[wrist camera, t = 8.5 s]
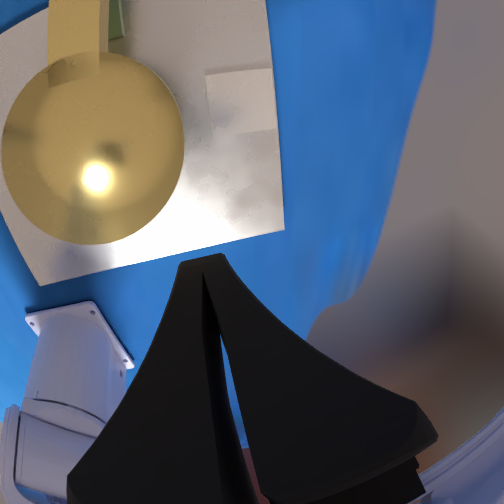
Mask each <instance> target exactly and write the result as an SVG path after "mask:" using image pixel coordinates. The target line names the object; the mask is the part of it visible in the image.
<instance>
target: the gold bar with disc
mask: <svg viewBox="0 0 504 504" xmlns="http://www.w3.org/2000/svg"><path fill="white" fill-rule="evenodd" d="M108 19H109V0H49V9H48V27H47V65H48V66H47V67H45V68H44V69H43V70H41V71H40V72H39V73H37V74H36V75H35V76H34V77H33V78H32V79H31V80H30V81H29V82H28V83H27V84H26V85H25V87H24V88H23V89H22V90H21V92H20V93H19V95H18V96H17V98H16V99H15V101H14V103H13V105H12V107H11V109H10V111H9V113H8V116H7V119H6V122H5V125H4V129H3V134H2V140H1V164H2V170H3V175H4V179H5V182H6V185H7V188H8V190H9V192H10V194H11V197H12V199H13V200H14V202H15V203H16V205H17V207H18V208H19V209H20V211H21V212H22V213H23V214H24V216H25V217H26V218H27V219H28V220H29V221H30V222H31V223H32V224H34V225H35V226H36V227H38V228H39V229H40V230H42V231H43V232H45V233H47V234H48V235H50V236H52V237H55V238H57V239H59V240H62V241H65V242H69V243H74V244H80V245H100V244H107V243H111V242H115V241H118V240H121V239H124V238H126V237H128V236H130V235H132V234H134V233H136V232H137V231H139V230H141V229H142V228H144V227H145V226H146V225H147V224H149V223H150V222H151V221H152V220H153V219H154V218H155V217H156V216H157V215H158V214H159V213H160V212H161V211H162V209H163V208H164V206H165V205H166V204H167V202H168V201H169V199H170V197H171V196H172V194H173V192H174V190H175V188H176V185H177V183H178V180H179V177H180V174H181V170H182V166H183V159H184V131H183V122H182V117H181V113H180V110H179V107H178V104H177V102H176V100H175V97H174V96H173V94H172V92H171V90H170V89H169V87H168V86H167V85H166V83H165V82H164V81H163V80H162V79H161V77H159V76H158V75H157V74H156V73H155V72H154V71H153V70H152V69H150V68H149V67H147V66H145V65H144V64H142V63H140V62H138V61H136V60H134V59H132V58H129V57H126V56H123V55H119V54H115V53H111V52H108Z"/></svg>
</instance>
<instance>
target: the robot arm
mask: <svg viewBox="0 0 504 504" xmlns="http://www.w3.org/2000/svg"><path fill="white" fill-rule="evenodd" d="M91 310H93V311H91ZM25 320H26V321H27V323H28V324H29V325H30V327H31V328H32V329H33V331H34V332H35V333H36V334H37V336H38V341H37V344H36V348H35V352H34V355H33V359H32V363H31V367H30V372H29V376H28V381H27V385H26V390H25V395H24V399H23V403H22V407H21V411H19V409H20V407H19V406H17V405H15V404H13V405H12V407H8V408H6V411H5V416H4V421H3V428H2V435H1V444H0V474H1V492H2V494H4V499H5V501H6V503H7V504H259V502H258V499H257V496H256V493H255V490H254V487H253V484H252V481H251V478H250V474H249V472H248V468H247V465H246V461H245V458H244V455H243V451H242V448H241V444H240V441H239V437H238V434H237V430H236V426H235V423H234V419H233V415H232V411H231V407H230V402H229V397H228V392H227V385H226V377H225V370H224V362H223V354H222V347H221V339H220V335H221V338H222V341H223V344H224V346H225V349H226V352H227V355H228V359H229V363H230V368H231V372H232V377H233V381H234V385H235V390H236V394H237V398H238V403H239V407H240V411H241V415H242V420H243V424H244V428H245V432H246V436H247V440H248V444H249V448H250V452H251V456H252V460H253V464H254V468H255V472H256V475H257V479H258V483H259V487H260V491H261V493H262V494H263V495H264V496H265V497H267V499H268V500H269V502H270V504H413V503H414V502H416V501H418V500H419V499H421V502H420V503H417V504H504V407H503V409H501V410H500V411H499V412H498V413H497V414H496V415H495V418H494V419H493V420H492V421H491V422H490V423H488V424H487V425H486V426H485V427H484V428H483V429H482V430H480V431H479V432H478V433H477V434H476V435H474V436H473V437H472V438H471V439H469V440H468V441H467V442H466V443H464V444H463V445H462V446H460V447H459V448H458V449H456V450H455V451H454V452H452V453H451V454H450V455H448V456H447V457H445V458H444V459H442V460H441V461H440V462H438V463H436V464H435V465H434V466H432V467H430V468H429V469H427V470H426V471H424V472H422V473H421V474H419V475H418V474H417V472H416V469H418V468H419V464H418V462H417V460H416V458H415V456H416V455H417V454H419V453H420V452H422V451H423V450H425V449H426V448H427V447H429V446H431V445H432V444H433V443H435V442H436V441H437V439H438V434H437V432H436V430H435V429H434V427H433V425H432V423H431V421H430V420H429V419H428V417H427V416H426V415H425V413H424V412H423V411H422V409H421V408H420V407H419V406H418V404H417V403H416V402H415V401H413V400H410V399H408V398H406V397H403V396H401V395H398V394H396V393H394V392H391V391H389V390H387V389H385V388H383V387H381V386H379V385H376V384H374V383H372V382H371V381H369V380H367V379H365V378H363V377H361V376H359V375H357V374H355V373H354V372H352V371H350V370H348V369H347V368H345V367H344V366H342V365H340V364H339V363H337V362H335V361H334V360H332V359H330V358H329V357H328V356H326V355H324V354H323V353H321V352H320V351H318V350H316V349H315V348H314V347H313V346H311V345H310V344H309V343H307V342H306V341H304V340H303V339H302V338H300V337H299V336H298V335H297V334H295V333H294V332H293V331H292V330H290V329H289V328H288V327H287V326H286V325H284V324H283V323H282V322H281V321H280V320H279V319H278V318H277V317H275V316H274V315H273V314H272V313H271V312H270V311H269V310H268V309H267V308H266V307H265V306H264V305H263V304H262V303H261V302H260V301H259V300H258V299H257V298H256V297H255V295H254V294H253V293H252V292H251V291H250V290H249V289H248V288H247V286H246V285H245V284H244V283H243V282H242V280H241V279H240V278H239V277H238V275H237V274H236V273H235V271H234V270H233V268H232V267H231V265H230V264H229V262H228V261H227V259H226V257H225V255H224V254H222V253H218V254H213V255H209V256H205V257H200V258H196V259H191V260H187V261H183V262H181V263H180V264H179V266H178V270H177V274H176V278H175V281H174V285H173V288H172V291H171V294H170V297H169V300H168V303H167V306H166V308H165V311H164V314H163V317H162V319H161V322H160V324H159V326H158V329H157V331H156V334H155V336H154V339H153V341H152V343H151V345H150V348H149V350H148V352H147V354H146V356H145V358H144V360H143V362H142V364H141V366H140V368H139V370H138V372H137V374H136V376H135V378H134V379H133V381H132V383H131V385H130V386H129V388H128V390H127V392H126V369H131V368H134V362H133V360H132V359H131V358H130V356H129V355H128V353H127V352H126V351H125V349H124V348H123V346H122V345H121V343H120V342H119V340H118V339H117V337H116V336H115V334H114V333H113V331H112V330H111V328H110V327H109V325H108V324H107V322H106V321H105V319H104V317H103V316H102V314H101V312H100V311H99V309H98V308H97V306H96V304H95V303H94V302H92V301H86V302H82V303H77V304H72V305H67V306H63V307H58V308H53V309H48V310H43V311H38V312H33V313H28V314H26V316H25Z"/></svg>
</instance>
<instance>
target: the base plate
mask: <svg viewBox="0 0 504 504" xmlns="http://www.w3.org/2000/svg"><path fill="white" fill-rule="evenodd" d="M48 9H49V7H48V8H46V9H44V10H42V11H40V12H38V13H36V14H34V15H32V16H31V17H29V18H27V19H25V20H23V21H22V22H20V23H18V24H16V25H15V26H13V27H11V28H10V29H8V30H7V31H5V32H3V33H2V34H0V210H1V213H2V215H3V217H4V220H5V222H6V224H7V226H8V228H9V230H10V232H11V235H12V237H13V239H14V241H15V243H16V245H17V246H18V248H19V250H20V252H21V254H22V256H23V258H24V260H25V261H26V263H27V265H28V267H29V269H30V270H31V272H32V274H33V276H34V277H35V279H36V281H37V282H38V284H39V286H43V285H47V284H51V283H55V282H59V281H63V280H67V279H71V278H75V277H80V276H84V275H88V274H92V273H96V272H100V271H104V270H108V269H113V268H117V267H121V266H125V265H129V264H134V263H138V262H142V261H146V260H151V259H155V258H159V257H163V256H168V255H172V254H176V253H181V252H185V251H190V250H194V249H198V248H203V247H207V246H212V245H216V244H221V243H225V242H229V241H234V240H238V239H243V238H248V237H252V236H257V235H261V234H266V233H270V232H275V231H280V230H284V213H283V195H282V178H281V163H280V148H279V135H278V122H277V110H276V98H275V87H274V76H273V66H272V56H271V46H270V37H269V28H268V20H267V11H266V3H265V0H109V19H108V52H111V53H115V54H119V55H123V56H126V57H129V58H132V59H134V60H136V61H138V62H140V63H142V64H144V65H145V66H147V67H149V68H150V69H152V70H153V71H154V72H155V73H156V74H157V75H158V76H159V77H161V79H162V80H163V81H164V82H165V83H166V85H167V86H168V87H169V89H170V90H171V92H172V94H173V96H174V97H175V100H176V102H177V104H178V107H179V110H180V113H181V117H182V122H183V131H184V159H183V166H182V170H181V174H180V177H179V180H178V183H177V185H176V188H175V190H174V192H173V194H172V196H171V197H170V199H169V201H168V202H167V204H166V205H165V206H164V208H163V209H162V211H161V212H160V213H159V214H158V215H157V216H156V217H155V218H154V219H153V220H152V221H151V222H150V223H149V224H147V225H146V226H145V227H144V228H142V229H141V230H139V231H137V232H136V233H134V234H132V235H130V236H128V237H126V238H124V239H121V240H118V241H115V242H111V243H107V244H100V245H80V244H74V243H69V242H65V241H62V240H59V239H57V238H55V237H52V236H50V235H48V234H47V233H45V232H43V231H42V230H40V229H39V228H38V227H36V226H35V225H34V224H32V223H31V222H30V221H29V220H28V219H27V218H26V217H25V216H24V214H23V213H22V212H21V211H20V209H19V208H18V207H17V205H16V203H15V202H14V200H13V199H12V197H11V194H10V192H9V190H8V188H7V185H6V182H5V179H4V175H3V170H2V164H1V140H2V134H3V129H4V125H5V122H6V119H7V116H8V113H9V111H10V109H11V107H12V105H13V103H14V101H15V99H16V98H17V96H18V95H19V93H20V92H21V90H22V89H23V88H24V87H25V85H26V84H27V83H28V82H29V81H30V80H31V79H32V78H33V77H34V76H35V75H36V74H37V73H39V72H40V71H41V70H43V69H44V68H45V67H47V66H48V65H47V27H48Z"/></svg>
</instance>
